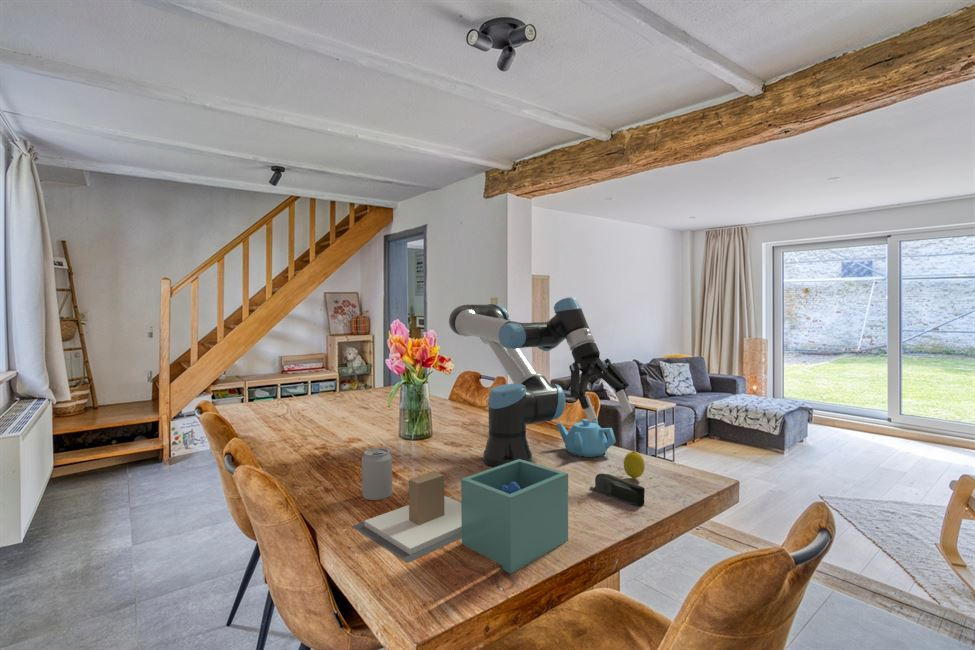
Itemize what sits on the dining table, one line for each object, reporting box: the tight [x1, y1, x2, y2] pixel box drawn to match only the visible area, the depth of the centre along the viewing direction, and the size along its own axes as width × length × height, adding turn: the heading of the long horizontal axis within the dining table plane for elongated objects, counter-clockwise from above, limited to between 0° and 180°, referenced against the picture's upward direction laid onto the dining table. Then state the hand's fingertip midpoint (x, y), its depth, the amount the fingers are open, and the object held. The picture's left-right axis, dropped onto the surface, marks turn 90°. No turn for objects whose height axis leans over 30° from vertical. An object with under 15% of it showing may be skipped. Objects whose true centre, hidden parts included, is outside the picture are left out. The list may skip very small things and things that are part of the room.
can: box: [361, 447, 393, 501], centre depth 122 cm, size 8×8×12 cm
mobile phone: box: [589, 473, 646, 507], centre depth 121 cm, size 5×3×15 cm
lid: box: [363, 471, 462, 555], centre depth 105 cm, size 17×21×10 cm
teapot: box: [556, 418, 617, 458], centre depth 158 cm, size 15×15×11 cm
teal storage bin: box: [460, 459, 569, 575], centre depth 97 cm, size 13×17×14 cm
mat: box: [351, 494, 462, 563], centre depth 106 cm, size 21×25×1 cm
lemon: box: [623, 450, 645, 480], centre depth 133 cm, size 6×6×8 cm
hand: (611, 416), depth 131 cm, fingers open, 13 cm apart
